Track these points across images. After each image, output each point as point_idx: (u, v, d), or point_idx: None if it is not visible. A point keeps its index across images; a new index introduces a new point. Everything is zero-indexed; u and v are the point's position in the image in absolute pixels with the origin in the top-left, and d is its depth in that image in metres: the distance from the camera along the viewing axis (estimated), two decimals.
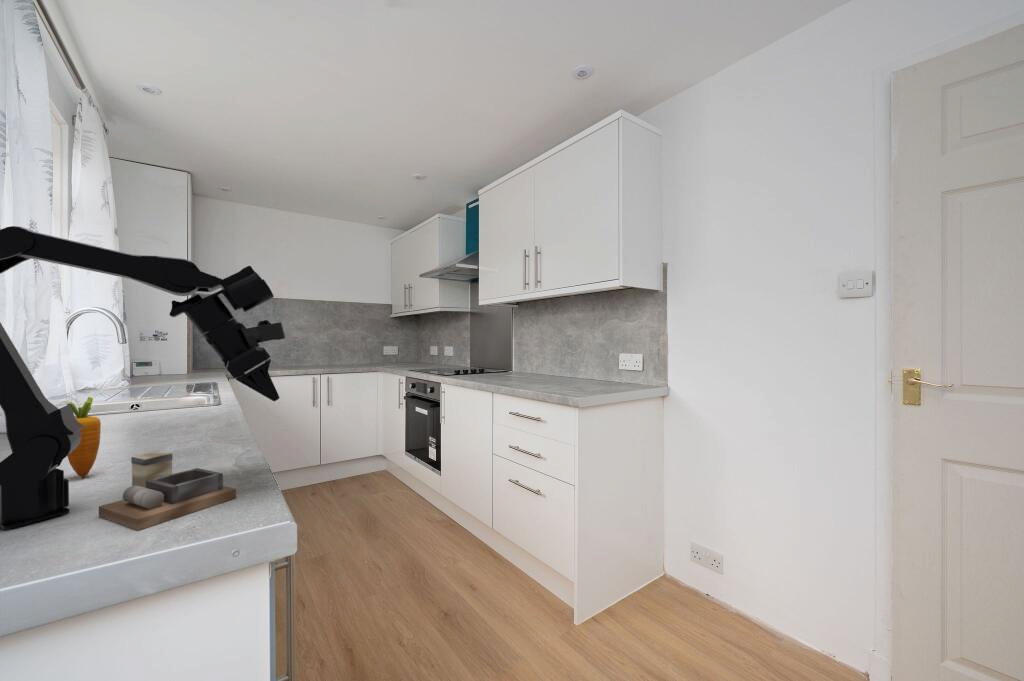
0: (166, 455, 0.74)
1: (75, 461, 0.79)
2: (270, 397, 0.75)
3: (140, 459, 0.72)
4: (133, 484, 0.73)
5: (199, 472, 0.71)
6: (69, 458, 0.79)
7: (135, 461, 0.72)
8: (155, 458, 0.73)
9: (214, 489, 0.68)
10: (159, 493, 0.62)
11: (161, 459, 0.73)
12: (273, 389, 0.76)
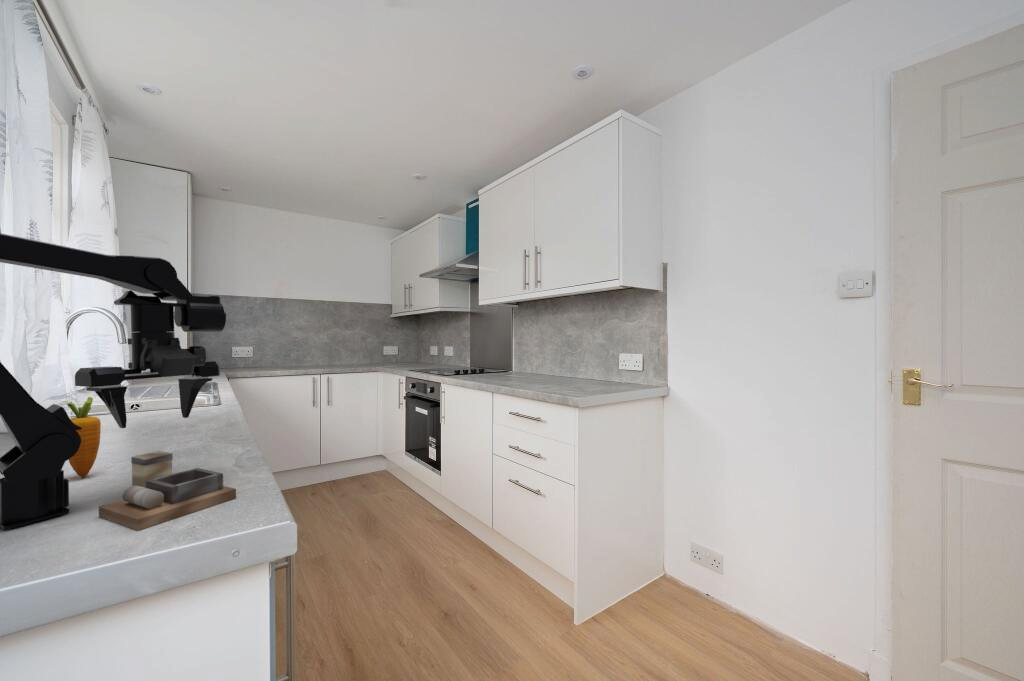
0: (166, 455, 0.74)
1: (75, 461, 0.79)
2: (116, 421, 0.70)
3: (140, 459, 0.72)
4: (133, 484, 0.73)
5: (199, 472, 0.71)
6: None
7: (135, 461, 0.72)
8: (155, 458, 0.73)
9: (214, 489, 0.68)
10: (159, 493, 0.62)
11: (161, 459, 0.73)
12: (120, 416, 0.69)
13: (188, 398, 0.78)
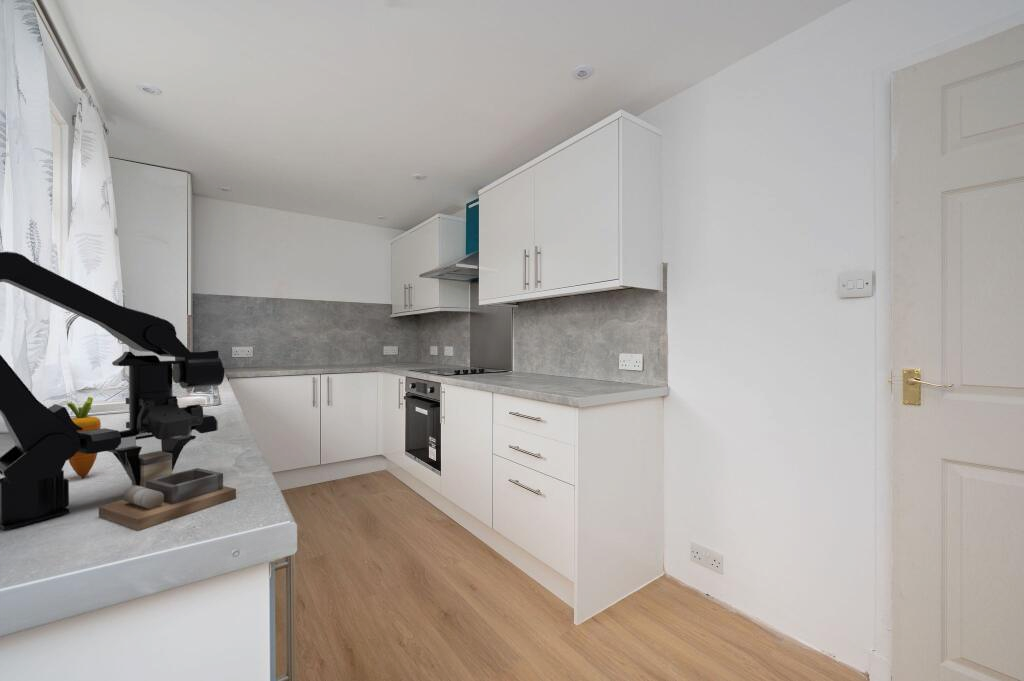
0: (166, 455, 0.74)
1: (75, 461, 0.79)
2: (131, 479, 0.72)
3: (140, 459, 0.72)
4: (133, 484, 0.73)
5: (199, 472, 0.71)
6: None
7: None
8: (155, 458, 0.73)
9: (214, 489, 0.68)
10: (159, 493, 0.62)
11: (161, 459, 0.73)
12: (134, 475, 0.71)
13: None
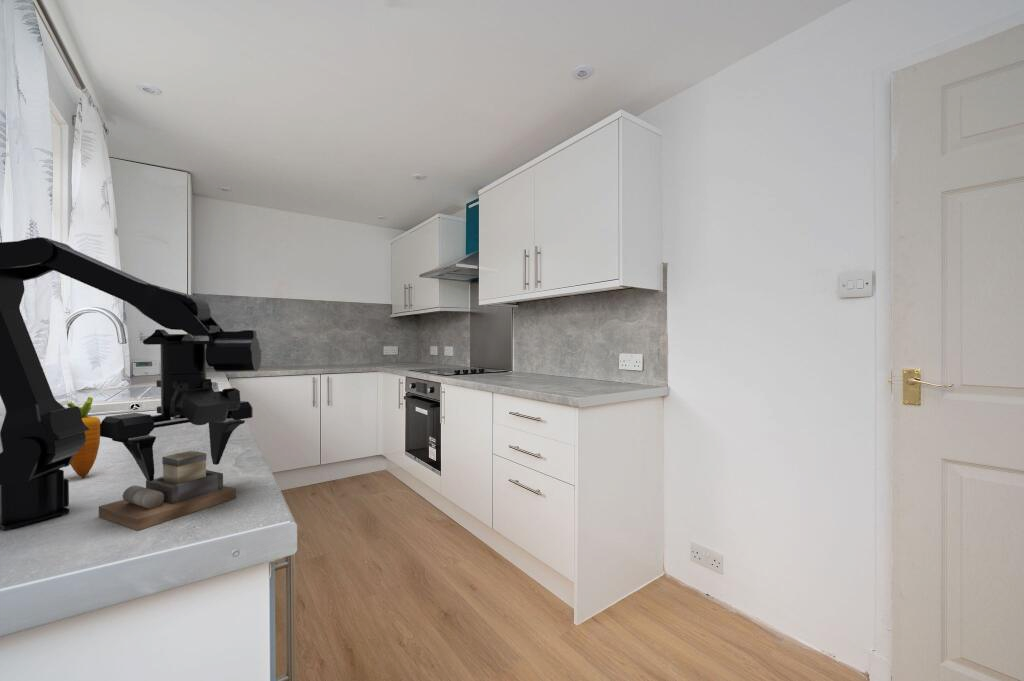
0: (200, 455, 0.68)
1: (75, 461, 0.79)
2: (144, 474, 0.63)
3: (173, 459, 0.65)
4: None
5: None
6: None
7: (166, 462, 0.66)
8: (189, 458, 0.66)
9: (214, 489, 0.68)
10: (159, 493, 0.62)
11: (195, 459, 0.67)
12: (147, 469, 0.63)
13: (219, 443, 0.72)
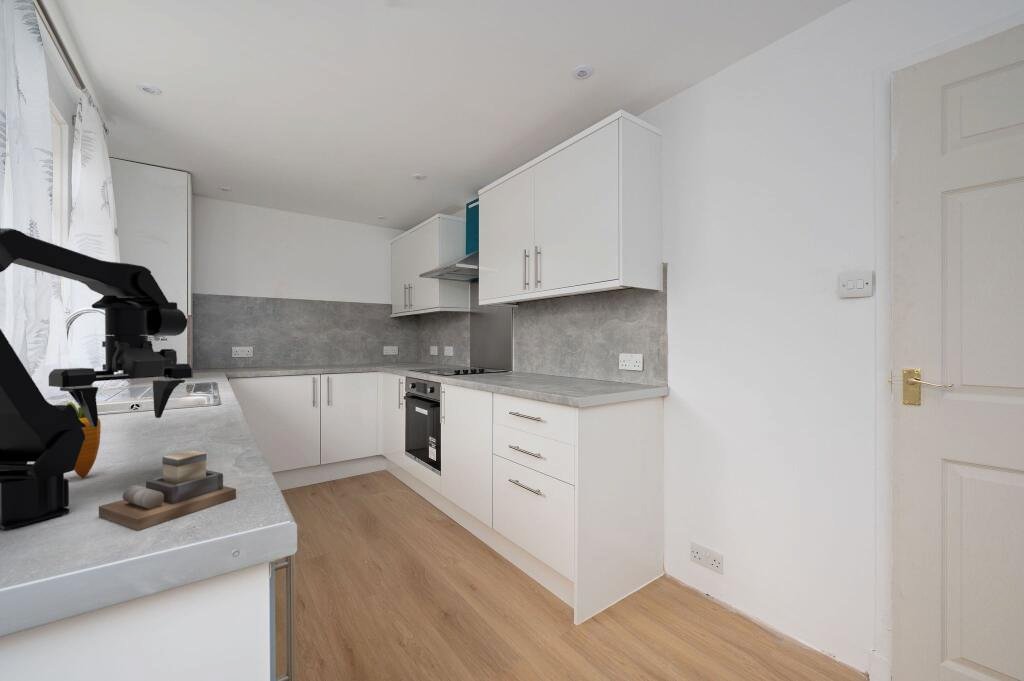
0: (200, 455, 0.68)
1: None
2: (88, 420, 0.73)
3: (173, 459, 0.65)
4: None
5: None
6: None
7: (166, 462, 0.66)
8: (189, 458, 0.66)
9: (214, 489, 0.68)
10: (159, 493, 0.62)
11: (195, 459, 0.67)
12: (91, 416, 0.72)
13: (161, 399, 0.81)
